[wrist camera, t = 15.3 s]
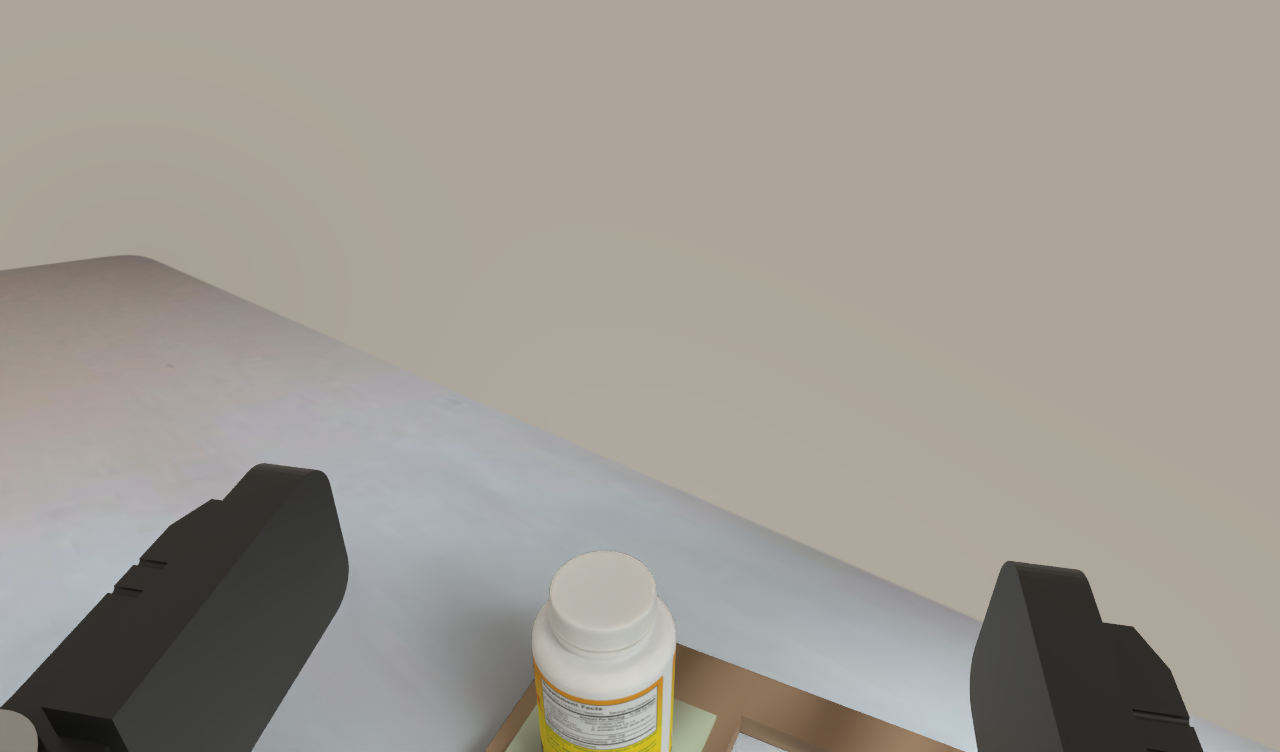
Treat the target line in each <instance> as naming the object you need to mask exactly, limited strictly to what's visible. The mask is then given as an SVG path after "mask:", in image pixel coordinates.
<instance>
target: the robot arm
mask: <svg viewBox="0 0 1280 752" xmlns="http://www.w3.org/2000/svg"><path fill="white" fill-rule="evenodd" d="M348 572H349V565H348V557H347V553H346V548H345V544H344V540H343V536H342V532H341V528H340V523H339V519H338V515H337V511H336V507H335V502H334V498H333V494H332V490H331V486H330V483H329V480H328V478H327V476H326V475H325V474H324V473H323V472H322V471H319V470H313V469H305V468H297V467H289V466H281V465H273V464H266V463H263V464H258V465H256V466H254V467H253V468H251V469H250V470H249V471H248V472H247V473H246V475H245V476H244V477H243V478H242V479H241V480H240V481H239V483H238V484H237V485H236V486H235V487H234V488H233V489H232V490H231V492H230V493H229V494H228V495H227V496H226V497H225V498H224V500H223V501H222V500H215V499H211V500H210V501H208V502H206V503H205V504H203V505H202V506H200V507H199V508H197V509H195V510H194V511H192V512H191V513H189V514H187V515H186V516H184V517H183V518H181V519H180V520H178V521H176V522H175V523H173V524H172V525H170V526H169V527H168V528H167V529H166V530H165V532H164V533H163V534H162V535H161V536H160V537H159V538H158V539H157V540H156V541H155V542H154V543H153V544H152V546H151V547H150V548H149V549H148V550H147V551H146V552H145V553H144V554H143V555H142V556H141V557H140V562H139V564H138V565H137V566H136V565H133V566H132V567H131V568H130V569H129V570H128V571H127V573H126V574H125V575H124V576H123V577H122V578H121V579H120V580H119V581H118V582H117V583H116V584H115V586H114V591H113V593H112V594H111V593H107V594H106V595H105V596H104V597H103V599H102V600H101V601H100V602H99V603H98V604H97V605H96V606H95V607H94V608H93V609H92V610H91V611H90V613H89V614H88V615H87V616H86V617H85V618H84V619H83V620H82V621H81V622H80V623H79V624H78V626H77V627H76V628H75V629H74V630H73V631H72V632H71V633H70V634H69V635H68V636H67V637H66V638H65V640H64V641H63V642H62V643H61V644H60V645H59V646H58V647H57V648H56V649H55V650H54V651H53V653H52V654H51V655H50V656H49V657H48V658H47V659H46V660H45V661H44V662H43V663H42V664H41V665H40V667H39V668H38V669H37V670H36V671H35V672H34V673H33V674H32V675H31V676H30V677H29V678H28V680H27V681H26V682H25V683H24V684H23V685H22V686H21V687H20V688H19V689H18V690H17V691H16V693H15V694H14V695H13V696H12V697H11V698H10V699H9V700H8V701H7V702H6V703H5V704H4V705H3V706H2V707H1V708H0V752H251V750H252V749H253V747H254V746H255V744H256V742H257V741H258V739H259V737H260V736H261V734H262V733H263V731H264V729H265V728H266V726H267V724H268V723H269V721H270V720H271V718H272V716H273V715H274V713H275V711H276V710H277V708H278V707H279V705H280V703H281V702H282V700H283V698H284V697H285V695H286V694H287V692H288V690H289V689H290V687H291V685H292V684H293V682H294V681H295V679H296V677H297V676H298V674H299V672H300V671H301V669H302V668H303V666H304V664H305V663H306V661H307V659H308V658H309V656H310V655H311V653H312V651H313V650H314V648H315V646H316V645H317V643H318V642H319V640H320V638H321V637H322V635H323V633H324V632H325V630H326V629H327V627H328V625H329V624H330V622H331V620H332V619H333V617H334V616H335V614H336V612H337V610H338V609H339V607H340V605H341V602H342V600H343V597H344V594H345V590H346V587H347V581H348ZM970 703H971V711H972V718H973V724H974V730H975V736H976V742H977V748H978V752H1203V749H1202V747H1201V744H1200V742H1199V740H1198V737H1197V735H1196V732H1195V730H1194V727H1190V725H1189V718H1190V717H1189V715H1188V712H1187V710H1186V707H1185V705H1184V702H1183V700H1182V697H1181V695H1180V692H1179V690H1178V688H1177V685H1176V683H1175V680H1174V678H1173V675H1172V673H1171V670H1170V669H1169V668H1168V667H1167V666H1166V664H1165V663H1164V662H1163V661H1162V660H1161V658H1160V657H1159V656H1158V655H1157V654H1156V653H1155V652H1154V650H1153V649H1152V648H1151V647H1150V646H1149V645H1148V644H1147V642H1146V641H1145V640H1144V639H1143V638H1142V637H1141V635H1140V634H1139V633H1138V632H1137V631H1136V630H1135V629H1134V627H1132V626H1124V625H1117V624H1109V623H1103V622H1102V620H1101V617H1100V614H1099V611H1098V608H1097V605H1096V602H1095V599H1094V596H1093V593H1092V590H1091V588H1090V585H1089V582H1088V580H1087V578H1086V576H1085V575H1084V573H1083V572H1082V571H1080V570H1076V569H1067V568H1060V567H1052V566H1045V565H1037V564H1029V563H1021V562H1013V561H1007V562H1006V563H1005V564H1004V565H1003V566H1002V568H1001V570H1000V573H999V576H998V579H997V582H996V585H995V588H994V591H993V595H992V597H991V600H990V604H989V607H988V610H987V613H986V616H985V619H984V622H983V625H982V628H981V631H980V634H979V637H978V640H977V643H976V646H975V650H974V653H973V658H972V664H971V673H970Z"/></svg>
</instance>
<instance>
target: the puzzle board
mask: <svg viewBox="0 0 1280 752" xmlns="http://www.w3.org/2000/svg"><path fill="white" fill-rule="evenodd" d="M739 732H741V733H744V734H746V735H749V736H751V737H754V738H756V739H759V740H761V741H764V742H766V743H769V744H771V745H773V746H776V747H778V748H781V749H783V750H786V751H788V752H964V751H961V750H959V749H956V748H953V747H951V746H948V745H946V744H943V743H940V742H938V741H935V740H932V739H930V738H927V737H924V736H922V735H919V734H916V733H914V732H911V731H908V730H906V729H903V728H900V727H898V726H895V725H892V724H890V723H887V722H885V721H882V720H879V719H877V718H874V717H871V716H869V715H866V714H863V713H861V712H858V711H855V710H853V709H850V708H847V707H845V706H842V705H839V704H837V703H834V702H831V701H829V700H826V699H824V698H821V697H818V696H816V695H813V694H810V693H808V692H805V691H802V690H800V689H797V688H794V687H792V686H789V685H786V684H784V683H781V682H778V681H776V680H773V679H770V678H768V677H765V676H762V675H760V674H757V673H755V672H752V671H749V670H747V669H744V668H741V667H739V666H736V665H733V664H731V663H728V662H725V661H723V660H720V659H717V658H715V657H712V656H709V655H707V654H704V653H701V652H699V651H696V650H694V649H691V648H688V647H686V646H683V645H680V644H678V643H676V659H675V680H674V705H673V726H672V749H671V752H731V750H732V748H733V746H734V743H735V741H736V739H737V736H738V734H739ZM484 752H542V746H541V737H540V725H539V714H538V704H537V694H536V686H535V679H534V680H533V682H532V683H531V684H530V686H529V687H528V689H527V690H526V692H525V693H524V695H523V696H522V698H521V699H520V700H519V702H518V703H517V705H516V706H515V708H514V709H513V711H512V712H511V714H510V715H509V716H508V718H507V719H506V721H505V722H504V724H503V725H502V727H501V728H500V730H499V731H498V732H497V734H496V735H495V737H494V738H493V740H492V741H491V743H490V744H489V745H488V747H487V748H486V750H485V751H484Z"/></svg>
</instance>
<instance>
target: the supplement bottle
mask: <svg viewBox="0 0 1280 752" xmlns="http://www.w3.org/2000/svg"><path fill="white" fill-rule="evenodd" d="M532 653H533V663H534V674H535V686H536V694H537V704H538V714H539V725H540V737H541V746H542V752H671V749H672V726H673V705H674V680H675V659H676V629H675V624H674V620H673V617H672V615H671V613H670V611H669V609H668V607H667V606H666V604H665V603H664V602H663V601H662V600H661V598H660V597H659V596H658V595H656V585H655V581H654V578H653V576H652V574H651V573H650V571H649V570H648V569H647V567H646V566H645V565H643V564H642V563H641V562H640V561H638V560H637V559H635V558H633V557H631V556H629V555H626V554H623V553H619V552H613V551H594V552H589V553H585V554H582V555H579V556H577V557H575V558H573V559H571V560H569V561H568V562H567V563H565V564H564V565H563V566H562V567H561V568H559V569H558V571H557V572H556V574H555V575H554V577H553V579H552V581H551V585H550V589H549V600H548V601H547V602H546V603H545V604H544V606H543V607H542V608H541V610H540V612H539V613H538V615H537V617H536V620H535V622H534V626H533V631H532Z"/></svg>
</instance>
